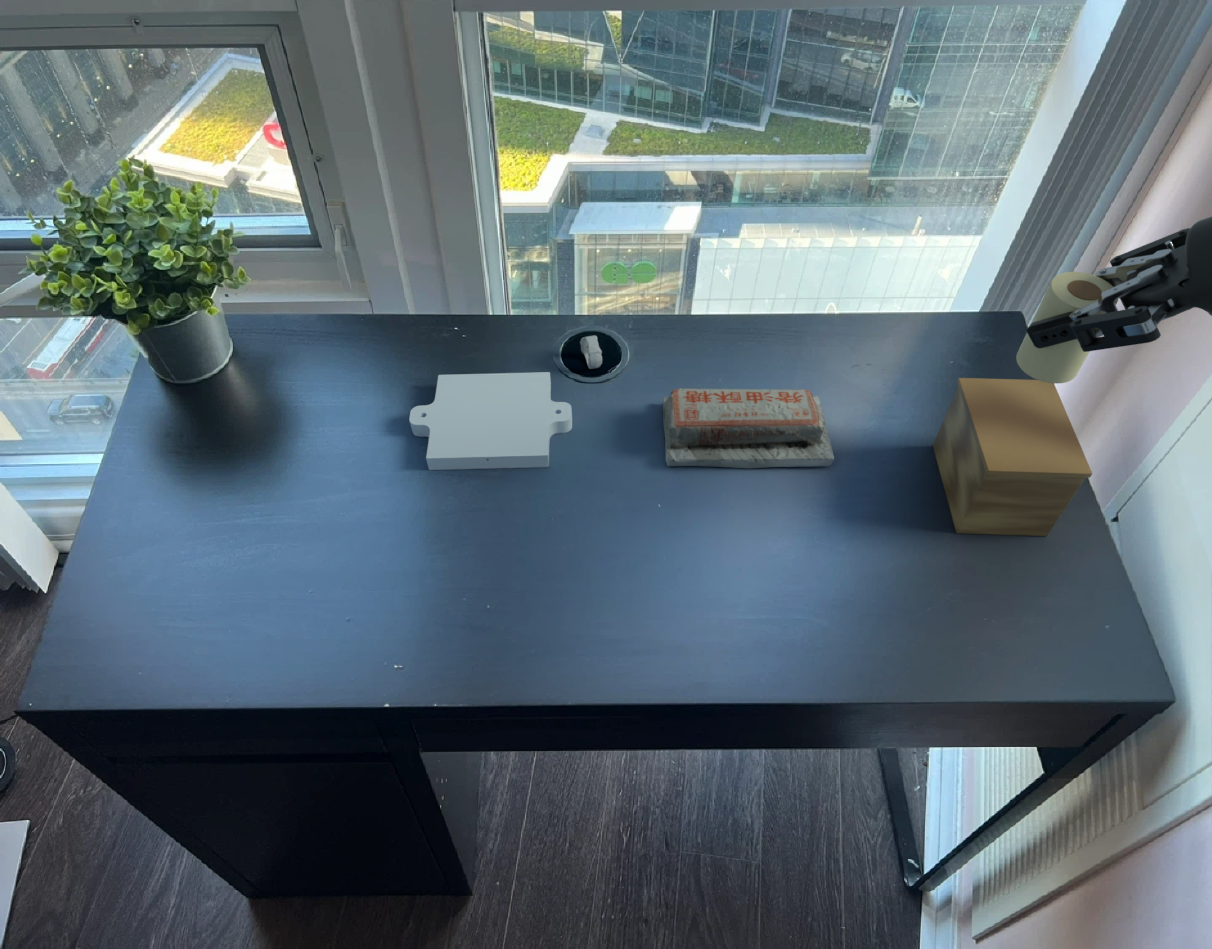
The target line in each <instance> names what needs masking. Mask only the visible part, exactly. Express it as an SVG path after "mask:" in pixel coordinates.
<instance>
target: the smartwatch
mask: <svg viewBox="0 0 1212 949" xmlns="http://www.w3.org/2000/svg"><path fill="white" fill-rule="evenodd" d="M579 345H580V351H581V353H582V354H583V355H584V358H585V361H586V364H587V367H588V369H589V370H594V369H598V368H600V367H601V365H602V364H603V356H602V354H603V350H602V349H601V347H600V344H599V341H598V336H597V335H588V336H584V337H581V339H580V341H579Z"/></svg>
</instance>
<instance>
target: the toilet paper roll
mask: <svg viewBox="0 0 1212 949" xmlns="http://www.w3.org/2000/svg"><path fill="white" fill-rule="evenodd" d="M1111 288H1113V286H1112V285H1111V284H1110V283H1108V282H1107V281H1105V280H1103V279H1102V278H1100V277H1097V276H1096V275H1095V274H1091V273H1088V272H1082V271H1065V272H1062V273H1058V274H1057V275H1055V276H1054V277H1053V278H1052V279H1051V280H1050V283H1049V285H1048V288H1047V289H1046V292H1045V294H1044V296H1043V298H1042V300H1041V302H1040V304H1039V306H1038V308H1037V311H1036V312H1035V314H1034V317H1033V318H1032V321H1031V323H1033V322H1036V321H1040V320H1043V319H1047V318H1050V317H1053V316H1057V315H1060V314H1064V313H1067V312H1071V311H1072V312H1074V311H1075V310H1078V309H1080V308H1082V307H1085V306H1087V305H1089V304H1091V303H1094V302H1096V301H1098V300H1099V297H1100V294H1101V293H1102V292H1104V291H1106V290H1109V289H1111ZM1118 302H1119V299H1116V301H1115V305H1116V306H1117V304H1118ZM1104 313H1106V312H1105V311H1100V312H1098V313H1096V314H1093V315H1091V316H1094V315H1099V314H1104ZM1090 352H1091V351H1088V352H1084V351H1083V350H1082V348H1081V346H1080V343H1079V341H1078V340H1077V339H1075V340H1071V341H1067V342H1063V343H1060V344H1056V345H1052V346H1048V347H1045V348H1037V347H1035V346H1034V344H1033V343H1032V341H1031V339H1030V337H1029V335H1028V333H1027V332H1026V333H1025V335H1024V338H1023V339H1022V342H1021V344H1020V346H1019V348H1018V350H1017V353H1016V357H1015V360H1016V363H1017V365H1018V368H1020V369H1021V371H1022V372H1024V373H1025V374H1026V375H1028V376H1029V377H1031V378H1033V379H1034V380H1039V381H1043V382H1047V383H1054V384H1065V383H1068V382H1071V381H1072V380H1074V379H1075V378H1076V377H1077V376H1078V374H1079V372H1080V370H1081V368H1082V366H1083V365H1084V363H1085V361H1086V359H1087V358H1088V356H1089V354H1090Z"/></svg>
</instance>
